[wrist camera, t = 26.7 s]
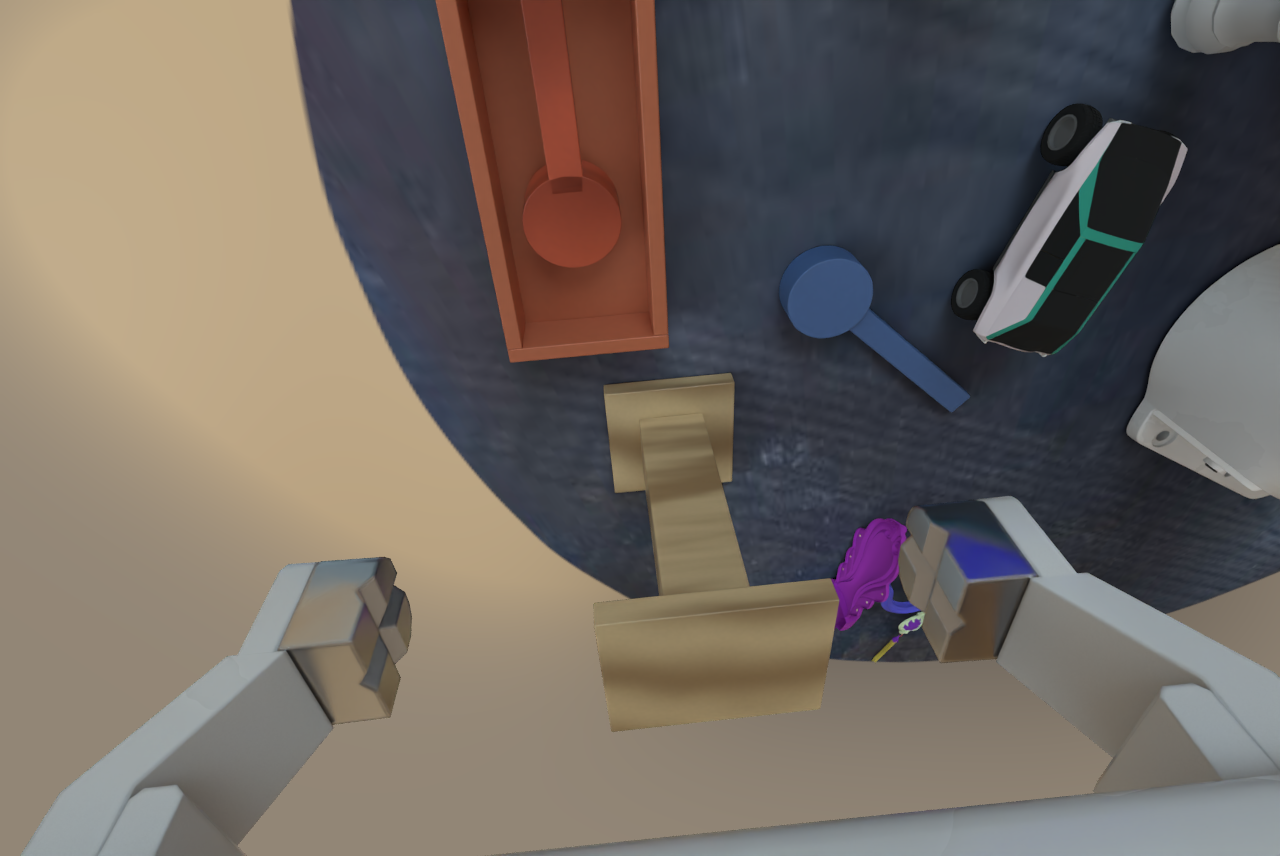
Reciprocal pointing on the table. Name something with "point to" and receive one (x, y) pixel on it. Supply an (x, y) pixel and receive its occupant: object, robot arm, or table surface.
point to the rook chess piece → (1224, 24)
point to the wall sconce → (873, 577)
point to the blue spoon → (855, 316)
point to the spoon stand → (700, 577)
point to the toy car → (1073, 232)
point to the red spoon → (563, 156)
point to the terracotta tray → (609, 138)
